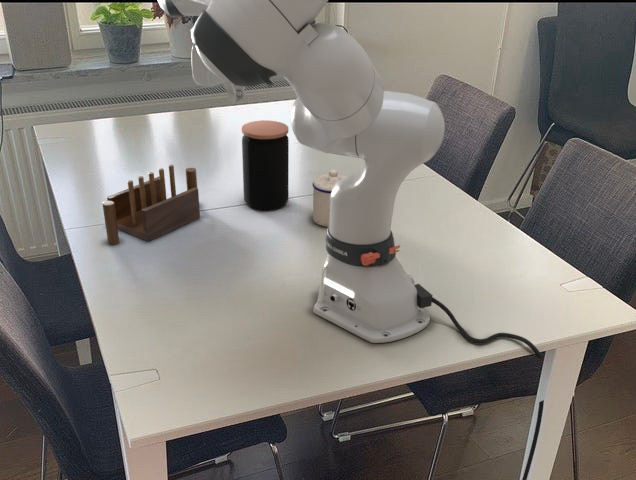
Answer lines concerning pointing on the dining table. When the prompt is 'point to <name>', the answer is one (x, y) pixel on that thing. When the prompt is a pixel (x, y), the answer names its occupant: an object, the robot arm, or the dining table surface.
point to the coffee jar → (265, 164)
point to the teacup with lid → (324, 196)
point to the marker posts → (111, 214)
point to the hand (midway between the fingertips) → (236, 100)
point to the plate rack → (154, 207)
